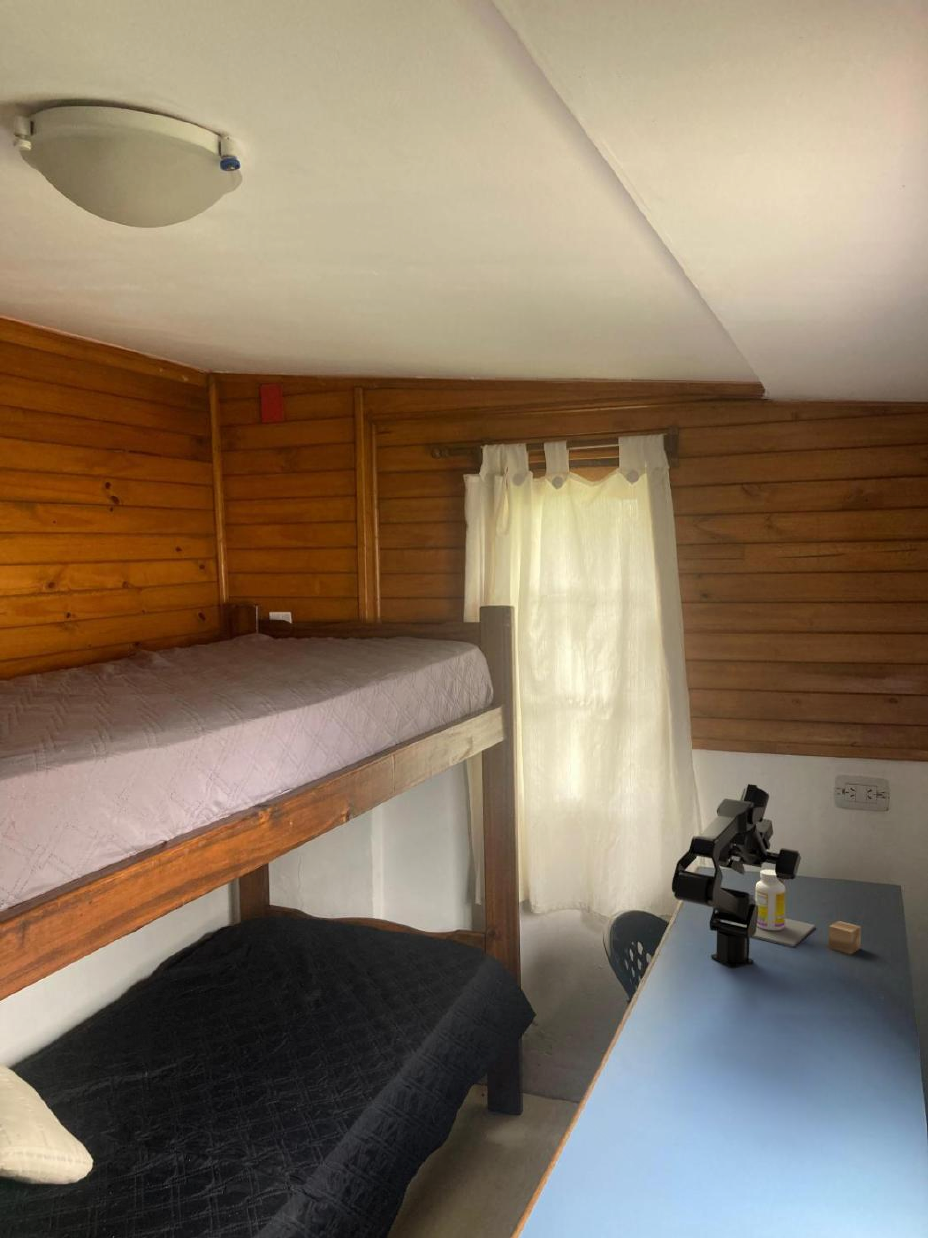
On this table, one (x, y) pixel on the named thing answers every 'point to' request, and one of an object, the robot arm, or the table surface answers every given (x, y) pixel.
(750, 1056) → the table surface
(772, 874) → the supplement bottle
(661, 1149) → the table surface
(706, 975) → the table surface
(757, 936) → the mat
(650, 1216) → the table surface
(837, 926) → the light brown cube
